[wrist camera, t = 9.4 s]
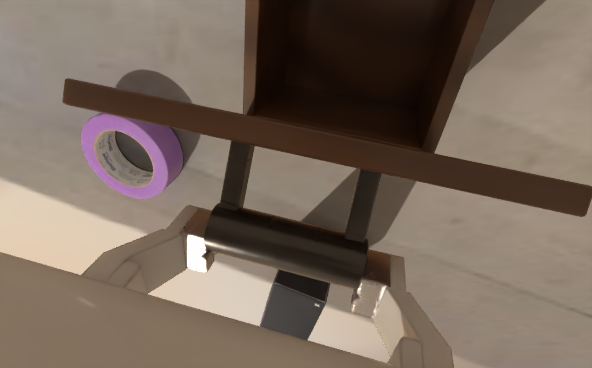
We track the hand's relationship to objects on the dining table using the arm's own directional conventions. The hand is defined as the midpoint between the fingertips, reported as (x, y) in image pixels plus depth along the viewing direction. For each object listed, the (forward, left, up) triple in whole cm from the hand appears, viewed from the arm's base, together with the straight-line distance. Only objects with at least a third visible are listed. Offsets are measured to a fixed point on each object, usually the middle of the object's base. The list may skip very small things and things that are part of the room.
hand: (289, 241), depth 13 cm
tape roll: (+13, -25, -24) cm, 37 cm away
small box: (+25, -1, -24) cm, 35 cm away
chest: (-6, 0, -24) cm, 25 cm away
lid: (-2, 0, -6) cm, 7 cm away
